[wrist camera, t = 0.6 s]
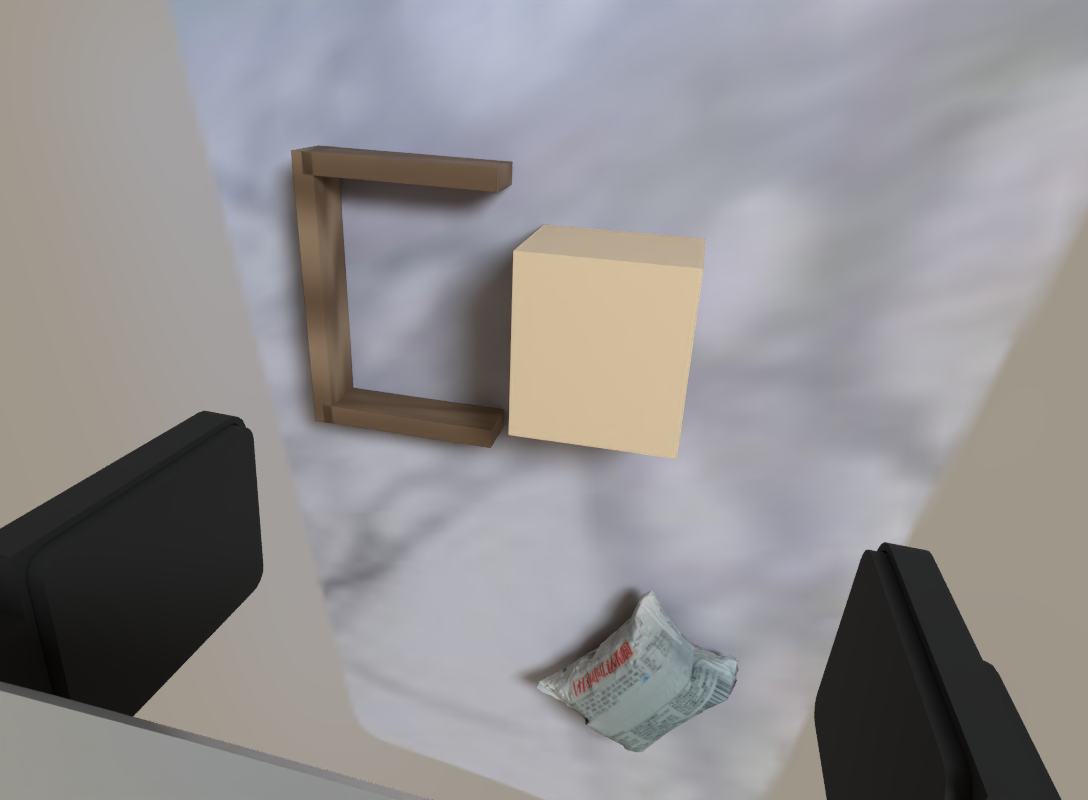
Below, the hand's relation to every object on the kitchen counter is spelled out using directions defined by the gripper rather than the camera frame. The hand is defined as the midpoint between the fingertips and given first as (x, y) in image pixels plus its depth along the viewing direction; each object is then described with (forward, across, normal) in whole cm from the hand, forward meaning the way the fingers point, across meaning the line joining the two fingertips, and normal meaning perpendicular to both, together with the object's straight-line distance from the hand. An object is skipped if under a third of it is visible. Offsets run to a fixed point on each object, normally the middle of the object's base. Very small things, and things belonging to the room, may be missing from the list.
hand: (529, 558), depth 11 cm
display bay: (+32, +14, +6) cm, 35 cm away
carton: (+32, +2, +5) cm, 32 cm away
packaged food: (+33, -3, +30) cm, 45 cm away
